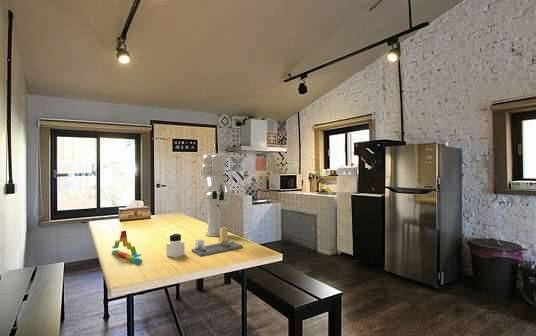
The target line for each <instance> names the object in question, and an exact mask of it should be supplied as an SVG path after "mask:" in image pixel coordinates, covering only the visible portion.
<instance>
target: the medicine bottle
mask: <svg viewBox="0 0 536 336" xmlns="http://www.w3.org/2000/svg"><path fill="white" fill-rule="evenodd" d="M185 253H186V252H185V242H183V241H182V235H181V233H172V234H170V235H169V242H167V243H166V257H171V258H178V257H181V256H184V255H185Z"/></svg>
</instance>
